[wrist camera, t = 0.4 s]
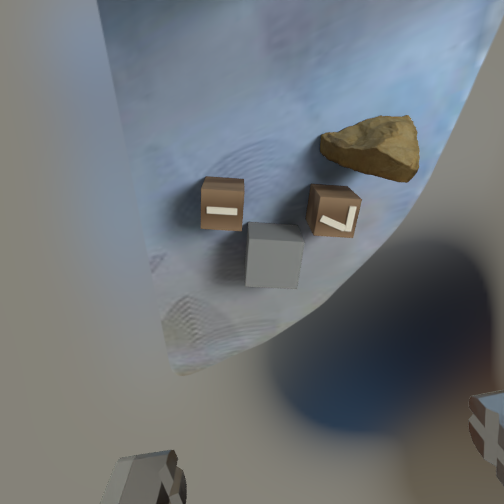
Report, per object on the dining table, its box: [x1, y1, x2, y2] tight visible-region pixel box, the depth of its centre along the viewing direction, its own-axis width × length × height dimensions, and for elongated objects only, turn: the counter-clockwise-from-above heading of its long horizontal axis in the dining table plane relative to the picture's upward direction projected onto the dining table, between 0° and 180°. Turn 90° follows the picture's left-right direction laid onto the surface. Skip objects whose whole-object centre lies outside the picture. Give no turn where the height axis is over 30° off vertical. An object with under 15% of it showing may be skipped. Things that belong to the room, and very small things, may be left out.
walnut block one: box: [201, 176, 244, 231], centre depth 42 cm, size 5×5×6 cm
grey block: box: [245, 222, 305, 289], centre depth 46 cm, size 7×7×6 cm
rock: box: [320, 115, 420, 183], centre depth 39 cm, size 11×9×10 cm
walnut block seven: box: [305, 184, 362, 238], centre depth 43 cm, size 5×5×6 cm
